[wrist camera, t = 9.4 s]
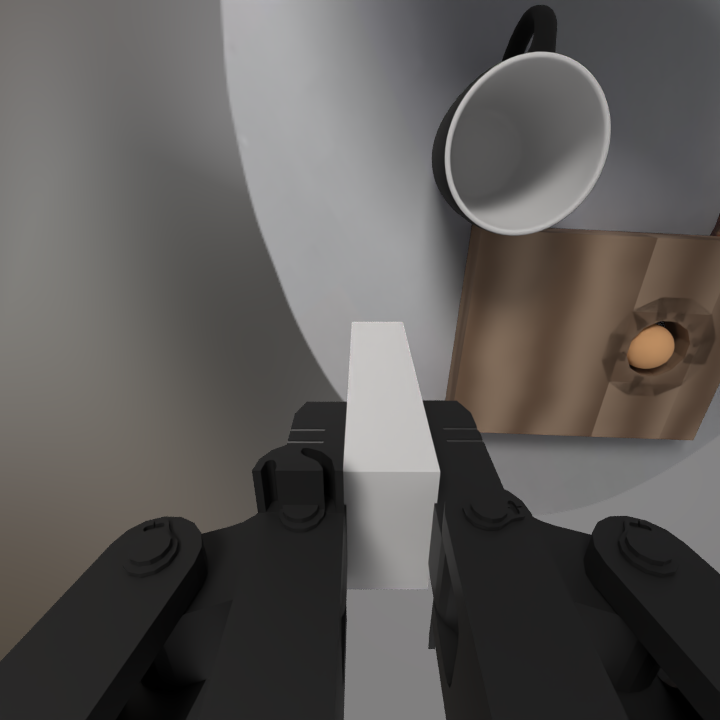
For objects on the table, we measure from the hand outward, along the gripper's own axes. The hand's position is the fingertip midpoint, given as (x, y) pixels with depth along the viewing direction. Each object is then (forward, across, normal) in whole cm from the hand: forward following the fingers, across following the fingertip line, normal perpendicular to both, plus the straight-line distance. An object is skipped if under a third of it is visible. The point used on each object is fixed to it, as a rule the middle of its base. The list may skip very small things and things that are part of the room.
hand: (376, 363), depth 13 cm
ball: (+22, +24, -9) cm, 34 cm away
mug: (+24, +9, +7) cm, 27 cm away
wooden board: (+24, +20, -9) cm, 32 cm away
